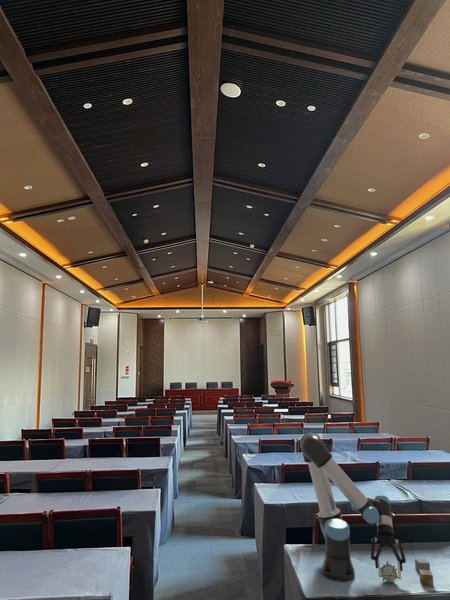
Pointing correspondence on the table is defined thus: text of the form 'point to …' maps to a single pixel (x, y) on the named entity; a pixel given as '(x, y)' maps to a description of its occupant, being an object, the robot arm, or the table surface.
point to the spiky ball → (388, 573)
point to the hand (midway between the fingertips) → (389, 576)
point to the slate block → (421, 564)
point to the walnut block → (426, 578)
